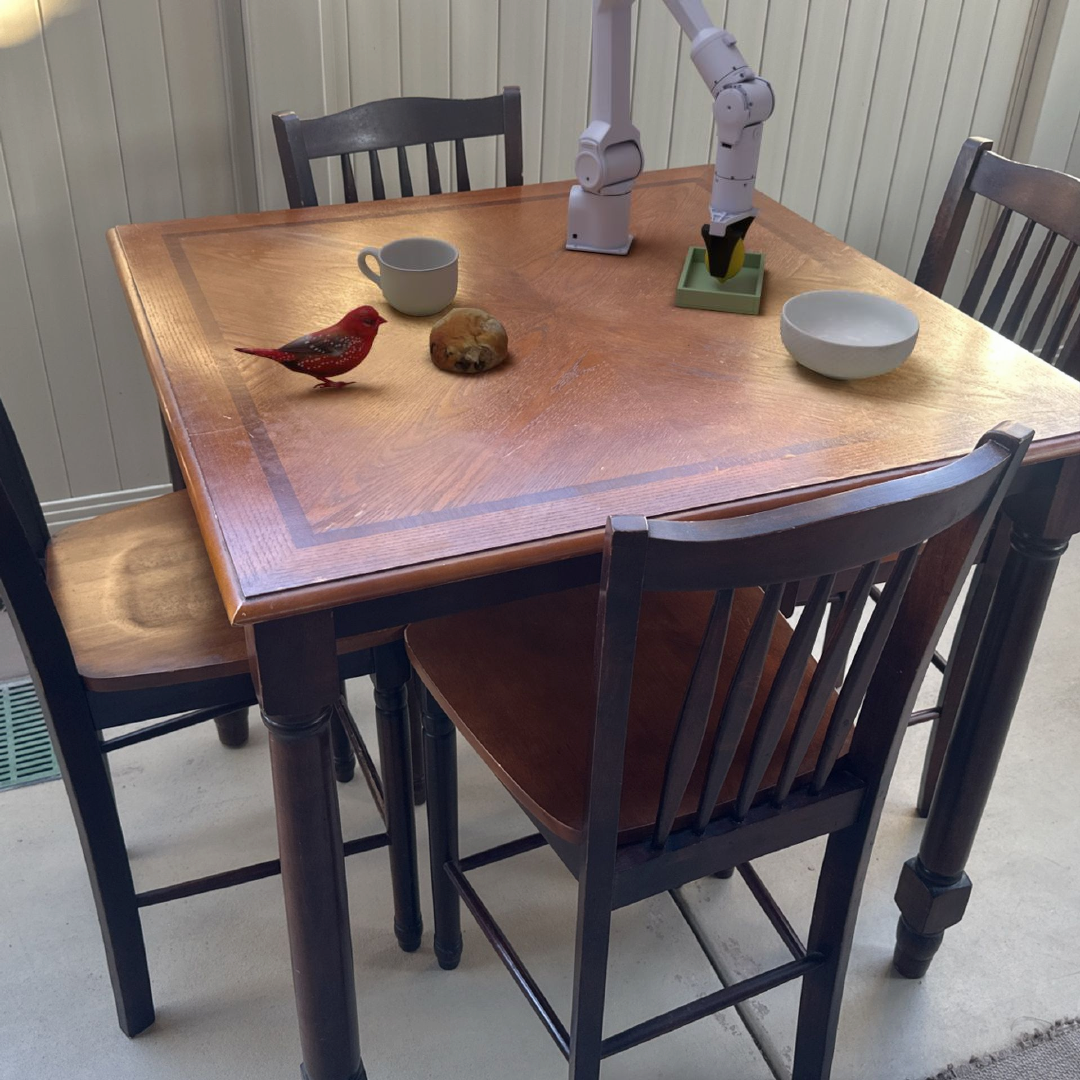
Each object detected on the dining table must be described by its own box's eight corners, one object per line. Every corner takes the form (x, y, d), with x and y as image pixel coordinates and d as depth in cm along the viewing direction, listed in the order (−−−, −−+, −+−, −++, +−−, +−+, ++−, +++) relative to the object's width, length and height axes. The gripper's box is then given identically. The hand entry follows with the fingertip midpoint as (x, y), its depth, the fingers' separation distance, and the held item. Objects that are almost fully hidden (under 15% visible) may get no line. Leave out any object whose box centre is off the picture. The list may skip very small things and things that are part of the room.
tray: (675, 306, 157) (677, 288, 156) (688, 262, 171) (689, 245, 170) (757, 315, 156) (760, 297, 154) (763, 270, 170) (766, 253, 168)
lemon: (742, 290, 160) (750, 235, 156) (704, 289, 160) (710, 234, 156) (738, 276, 165) (745, 222, 160) (700, 274, 165) (706, 221, 160)
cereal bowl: (765, 336, 150) (773, 285, 146) (891, 341, 150) (902, 291, 146) (784, 395, 136) (793, 341, 132) (922, 400, 136) (936, 346, 132)
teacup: (473, 301, 157) (472, 245, 152) (434, 329, 149) (433, 271, 144) (387, 282, 161) (384, 228, 157) (345, 309, 153) (340, 252, 149)
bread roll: (513, 379, 145) (523, 317, 144) (487, 378, 135) (498, 311, 134) (442, 366, 148) (452, 305, 146) (411, 364, 138) (421, 298, 137)
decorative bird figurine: (393, 387, 135) (389, 308, 129) (241, 403, 130) (230, 322, 125) (388, 376, 137) (384, 299, 131) (239, 392, 133) (228, 312, 127)
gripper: (751, 193, 147) (738, 291, 155) (775, 164, 158) (761, 257, 166) (699, 185, 149) (688, 283, 157) (726, 157, 160) (715, 249, 168)
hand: (723, 269), depth 162 cm, fingers closed on lemon, 5 cm apart
